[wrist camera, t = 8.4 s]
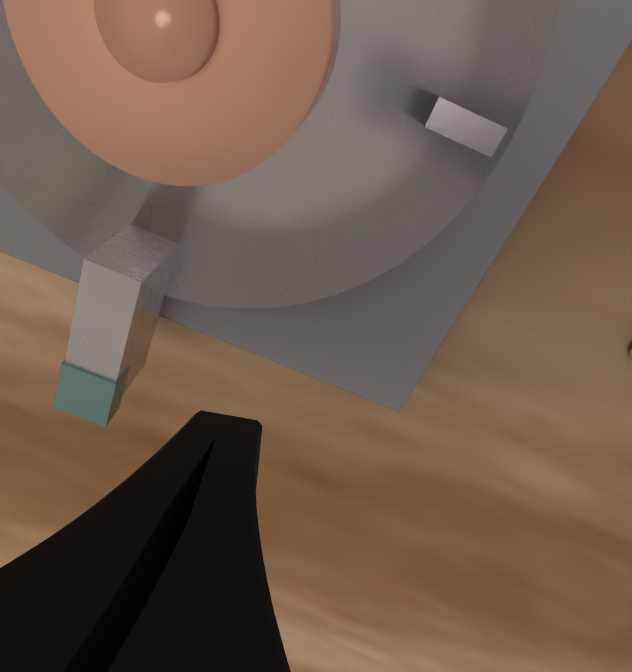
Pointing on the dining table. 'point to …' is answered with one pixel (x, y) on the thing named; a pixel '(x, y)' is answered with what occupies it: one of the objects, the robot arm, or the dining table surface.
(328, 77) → the cover
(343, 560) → the dining table surface
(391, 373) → the base plate
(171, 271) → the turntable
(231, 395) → the dining table surface
